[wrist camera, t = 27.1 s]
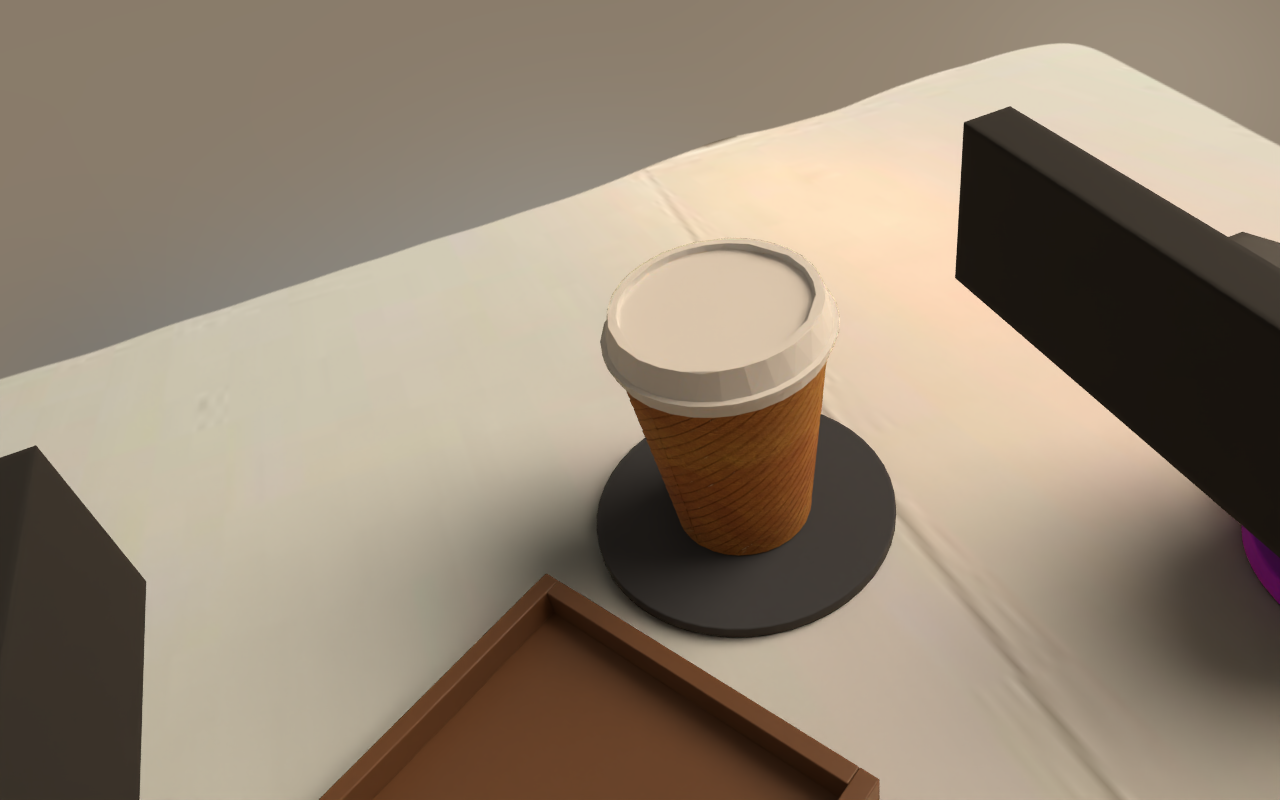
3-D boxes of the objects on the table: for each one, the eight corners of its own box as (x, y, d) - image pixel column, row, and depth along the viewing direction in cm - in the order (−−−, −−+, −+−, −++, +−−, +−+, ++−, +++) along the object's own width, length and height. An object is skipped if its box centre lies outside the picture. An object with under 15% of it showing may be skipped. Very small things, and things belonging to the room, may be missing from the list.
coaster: (539, 547, 48) (536, 539, 47) (714, 378, 55) (712, 369, 54) (784, 695, 40) (782, 687, 39) (951, 475, 47) (952, 466, 46)
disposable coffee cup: (617, 568, 45) (559, 369, 37) (676, 423, 51) (638, 227, 44) (826, 602, 42) (812, 392, 34) (862, 443, 48) (857, 235, 40)
